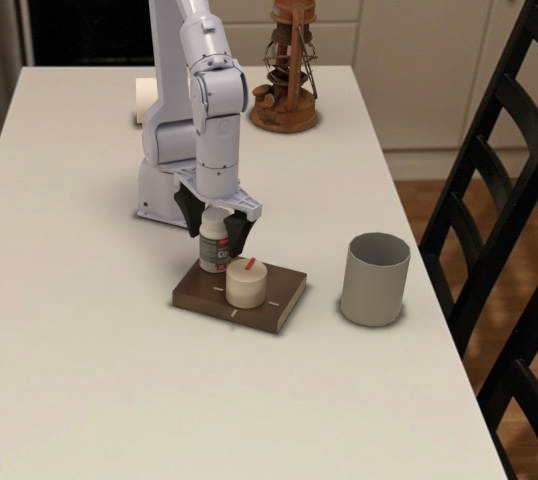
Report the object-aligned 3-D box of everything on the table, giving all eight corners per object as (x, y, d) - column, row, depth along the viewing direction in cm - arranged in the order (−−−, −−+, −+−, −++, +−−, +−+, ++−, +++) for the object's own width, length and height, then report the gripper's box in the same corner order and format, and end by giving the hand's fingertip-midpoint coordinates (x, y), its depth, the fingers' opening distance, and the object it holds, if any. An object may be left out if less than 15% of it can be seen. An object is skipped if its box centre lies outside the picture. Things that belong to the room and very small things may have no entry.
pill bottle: (221, 277, 132) (223, 227, 126) (193, 268, 134) (193, 218, 128) (237, 260, 135) (239, 211, 129) (209, 252, 136) (209, 202, 131)
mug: (190, 130, 170) (190, 88, 164) (137, 131, 170) (135, 89, 164) (189, 101, 179) (188, 61, 173) (137, 102, 178) (136, 61, 173)
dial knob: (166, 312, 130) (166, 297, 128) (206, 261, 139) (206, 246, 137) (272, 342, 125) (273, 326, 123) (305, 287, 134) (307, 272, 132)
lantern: (244, 98, 179) (251, -68, 159) (310, 96, 180) (325, -70, 159) (255, 139, 167) (264, -35, 146) (325, 136, 168) (344, -37, 147)
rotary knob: (257, 312, 126) (258, 284, 122) (219, 302, 127) (220, 274, 124) (271, 290, 129) (273, 262, 126) (234, 281, 131) (235, 253, 128)
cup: (404, 297, 132) (415, 238, 125) (394, 331, 127) (405, 271, 120) (346, 286, 134) (355, 227, 127) (334, 319, 129) (342, 259, 122)
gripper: (278, 165, 121) (272, 252, 130) (197, 131, 128) (197, 215, 137) (244, 186, 117) (240, 273, 127) (162, 149, 124) (164, 234, 134)
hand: (215, 244), depth 132 cm, fingers open, 7 cm apart
